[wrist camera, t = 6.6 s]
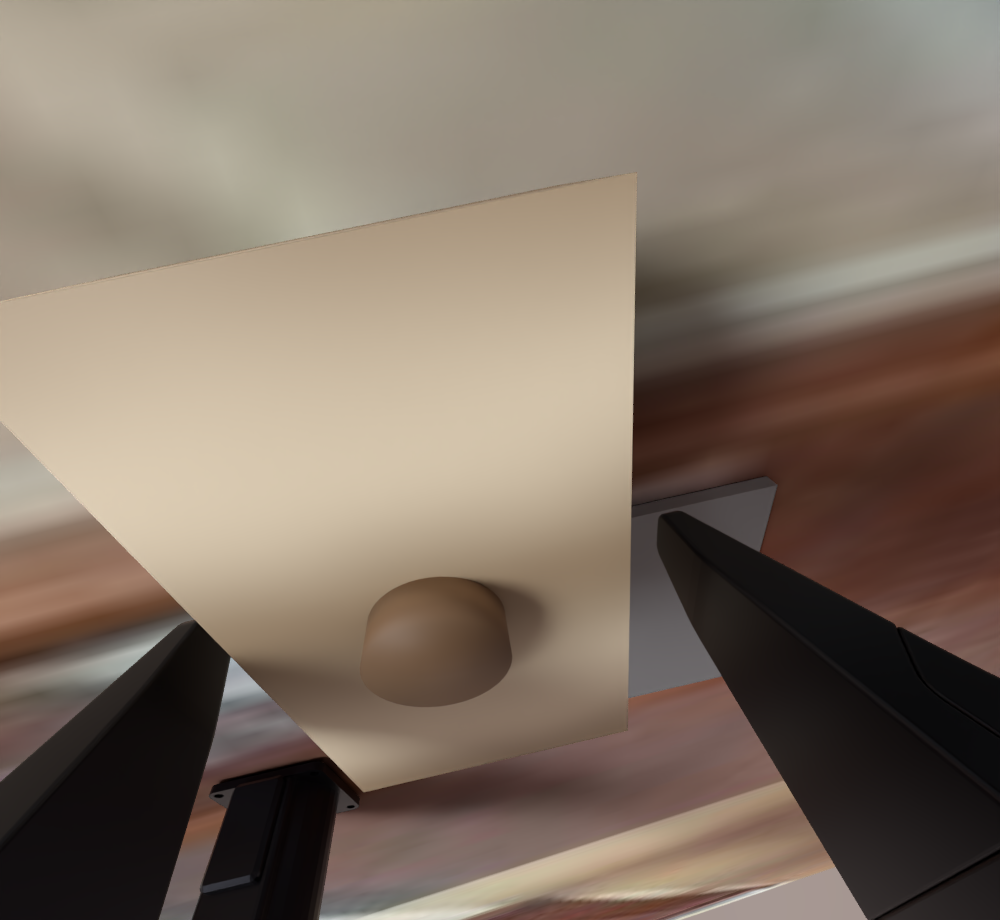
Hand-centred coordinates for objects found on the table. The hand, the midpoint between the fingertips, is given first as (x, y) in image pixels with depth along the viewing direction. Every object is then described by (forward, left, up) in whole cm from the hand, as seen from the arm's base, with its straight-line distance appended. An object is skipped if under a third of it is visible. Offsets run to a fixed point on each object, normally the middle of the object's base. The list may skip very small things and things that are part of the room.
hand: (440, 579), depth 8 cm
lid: (0, 0, -2) cm, 2 cm away
